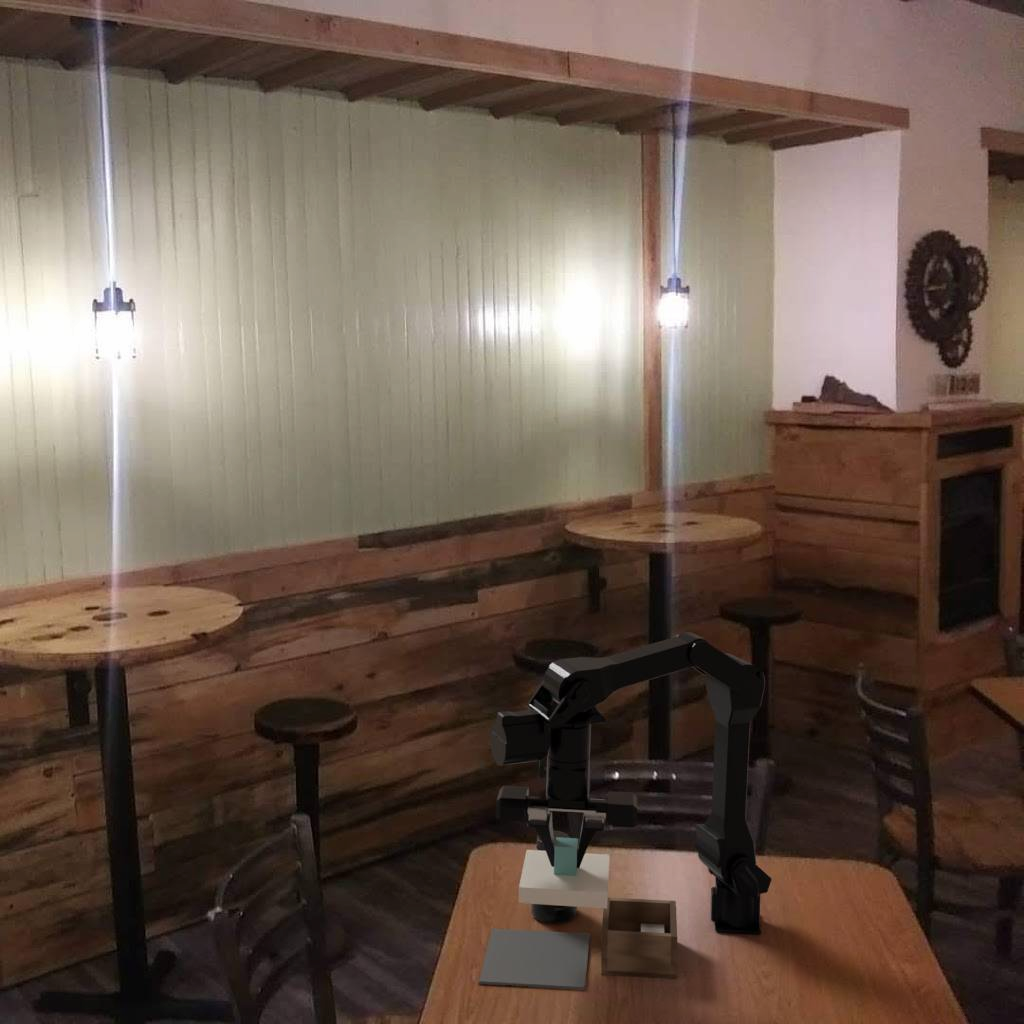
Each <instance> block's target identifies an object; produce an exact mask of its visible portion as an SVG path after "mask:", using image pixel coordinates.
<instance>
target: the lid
mask: <svg viewBox="0 0 1024 1024" xmlns="http://www.w3.org/2000/svg"><path fill="white" fill-rule="evenodd" d="M578 845H579V838H575V837H569V838H562V837H556V840H555V850H554V867H552V866H551V864H550V861H549V858H548V856H547V853H546V851H540V850H537V849H526V852H525V854H524V855H525V857H524V860H523V861H524V862H523V866H522V870H521V874H520V875H521V876H520V881H519V886H518V903H519V904H530V905H531V904H544V905H559V906H575V907H577V908H593V909H594V908H595V909H603V908H606V909H607V902H608V898H609V897H608V896H609V881H610V880H609V878H610V854H606V853H586V852H585V855H584V857H583V860H582V862H581V865H580V867H579V868H577V851H578Z"/></svg>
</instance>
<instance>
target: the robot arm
mask: <svg viewBox="0 0 1024 1024" xmlns="http://www.w3.org/2000/svg"><path fill="white" fill-rule="evenodd" d="M690 668H693V669H695V670H696V671H697V672H699V673H701V675H703V676H704V677H705V687H706V694H707V695H706V697H707V699H708V701H709V703H710V706H711V709H712V713H713V715H714V719H715V720H714V721H715V724H714V725H715V727H714V747H713V768H712V769H713V770H712V771H713V772H712V791H711V792H712V794H711V796H712V797H711V812H710V815H709V817H708V819H707V820H706V821H705V823H698V824H696V825H695V832H696V838H695V840H696V841H695V844H694V847H693V850H695V851H696V853H697V857H698V859H699V861H701V863H702V864H703V865H704V866H706V867H707V870H708V873H709V874H710V875H713V877H715V878H714V879H715V882H714V884H715V885H714V886H712V887H711V888H710V921H712V923H714V931H715V932H718V933H731V934H733V933H734V934H739V933H740V934H755V935H760V934H762V927H761V920H760V919H761V894H766V893H768V891H769V888H770V886H771V883H772V877H770V876H769V875H768V873H766V872H765V871H764V870H763V869H762V868H761V867H759V866H758V865H757V857H756V848H755V842H754V839H753V836H752V833H751V830H750V827H749V824H748V822H747V799H748V798H747V797H748V795H747V794H748V780H749V779H748V778H749V776H748V775H749V761H750V760H749V755H750V737H751V723H752V721H753V720H754V718H755V716H756V714H757V713H758V712H759V710H760V708H761V706H762V701H763V698H764V693H765V685H766V680H765V675H764V672H762V670H761V669H760V668H759V667H758V666H756V665H755V664H752V663H751V662H750V663H749V662H748V661H746V660H744V659H741V658H739V657H737V656H735V655H733V654H731V653H723V652H722V651H721V650H719V649H718V648H716V647H715V646H713V645H711V643H710V642H709V641H708V640H707V639H705V638H703V637H701V636H700V635H697V634H695V633H692V632H691V631H690V632H689V631H687V632H681V633H679V634H677V635H676V636H674V637H670V638H667V639H664V640H660V641H657V642H654V643H650V644H646V645H642V646H639V647H635V648H634V649H633V648H632V649H630V650H629V649H628V650H627V651H623V652H619V653H616V654H612V655H609V656H603V657H587V656H582V657H581V656H579V657H569V658H568V657H567V658H560V659H557V660H555V661H553V662H551V663H550V664H549V665H548V667H547V669H546V671H545V672H544V675H543V679H542V682H540V684H539V686H538V687H537V689H536V690H535V691H534V693H533V694H532V696H531V697H530V699H528V701H527V703H526V708H528V709H527V710H518V711H498V712H497V714H496V718H497V719H496V721H494V722H493V724H492V727H491V731H490V732H489V743H490V750H491V754H492V758H493V760H494V761H495V763H496V764H497V765H498V766H506V765H508V766H509V765H514V764H515V765H516V764H522V763H531V762H538V761H539V762H538V780H542V781H543V780H544V781H545V780H546V786H545V787H546V789H545V790H546V791H545V796H542V795H541V796H539V795H538V796H537V795H529V794H530V790H529V786H522V785H521V786H518V785H517V786H516V785H502V787H501V788H500V789H499V791H498V794H497V799H496V802H495V803H496V804H495V819H497V820H499V821H511V822H513V821H514V822H519V821H520V820H522V819H523V818H524V817H525V816H526V811H527V814H528V819H527V821H526V823H527V824H526V825H527V827H528V828H530V829H531V828H533V829H534V830H535V832H536V834H537V836H538V835H539V837H540V839H541V841H542V843H543V845H544V848H545V850H546V853H547V856H548V858H549V861H550V864H551V866H552V867H554V850H555V845H554V835H553V831H554V828H553V827H554V826H553V825H554V824H553V813H566V814H567V813H568V814H582V815H583V816H582V822H581V828H580V833H579V834H580V836H579V838H578V851H577V868H579V867H580V865H581V862H582V860H583V857H584V855H585V853H586V852H587V851H588V850H587V849H588V847H589V846H590V844H591V842H592V841H593V838H594V837H595V835H596V834H597V832H598V833H599V832H603V831H605V828H606V827H605V826H606V821H607V822H608V823H609V824H610V825H611V826H612V827H613V828H614V827H615V828H616V827H617V828H628V829H630V828H632V829H633V828H635V827H638V797H637V795H636V794H635V793H634V792H628V791H627V792H625V791H612V790H611V791H610V790H609V791H608V797H607V799H601V798H589V797H590V793H591V773H590V765H591V764H590V763H591V737H592V736H591V735H592V734H591V732H592V730H591V729H592V725H597V724H599V725H600V724H605V723H606V722H607V718H606V717H605V716H604V715H603V714H601V713H600V712H599V710H598V709H597V706H598V705H600V704H603V703H604V702H606V701H607V700H608V699H609V698H610V697H611V696H612V695H613V694H614V693H616V692H618V691H620V690H621V689H625V688H627V687H631V686H635V685H638V684H641V683H645V682H648V681H651V680H655V679H657V678H661V677H664V676H668V675H671V674H674V673H678V672H680V671H684V670H688V669H690ZM552 701H554V702H556V704H557V706H556V707H554V705H552V704H551V702H552ZM606 817H607V818H606Z"/></svg>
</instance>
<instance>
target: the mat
mask: <svg viewBox="0 0 1024 1024" xmlns="http://www.w3.org/2000/svg"><path fill="white" fill-rule="evenodd" d="M590 936H591V934H590V933H587V932H586V933H584V932H565V931H562V932H561V931H546V930H527V929H510V928H509V929H506V928H505V929H504V928H491V931H490V935H489V939H488V943H487V948H486V951H485V956H484V959H483V963H482V967H481V970H480V975H479V979H478V985H493V986H506V985H512V986H511V987H514V986H513V985H517V986H516V987H523V986H528V987H527V988H540V989H541V988H544V989H546V988H547V989H561V990H578V991H581V990H582V991H585V990H586V982H587V981H586V980H587V970H588V962H589V961H588V958H589V951H590V950H589V949H590V939H591V937H590Z"/></svg>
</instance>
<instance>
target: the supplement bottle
mask: <svg viewBox="0 0 1024 1024" xmlns="http://www.w3.org/2000/svg"><path fill="white" fill-rule="evenodd" d="M553 835H554V845H555V840H556V837H562V838H570V836H569V834H567V833H566V832H563V831H560V830H553ZM535 847H536V849H535V850H540V851H546V850H545V848H544V845H543V843H542V841H541V839H540V837H539V835H538V834H537V836H536V846H535ZM530 911H531V912H530V913H531V915H532V916H533V917H534V918H535V919H536V920H537V921H539V922H542V923H545V924H551V925H554V924H556V925H557V924H564V923H567V922H569V921H570V922H571V920H573V919H574V918H575V916H576V915H577V913H578V907H575V906H559V905H544V904H530Z"/></svg>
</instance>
